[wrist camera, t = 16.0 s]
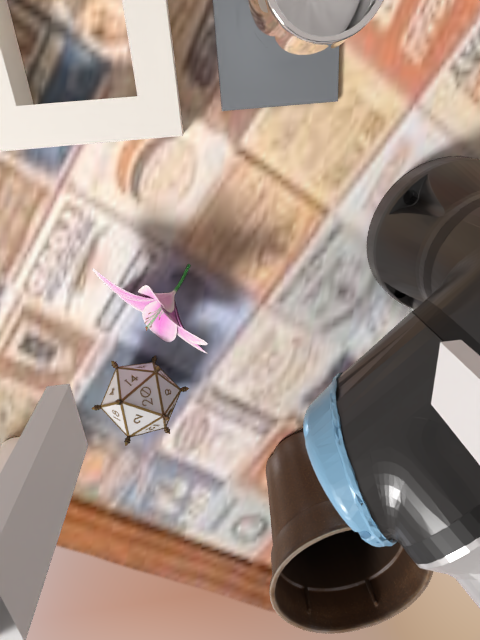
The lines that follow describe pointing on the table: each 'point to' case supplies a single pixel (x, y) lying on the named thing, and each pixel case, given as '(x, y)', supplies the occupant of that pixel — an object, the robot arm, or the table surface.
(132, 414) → the game die
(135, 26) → the board
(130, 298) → the lily
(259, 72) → the slate coaster
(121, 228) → the table surface
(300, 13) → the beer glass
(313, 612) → the plant pot
